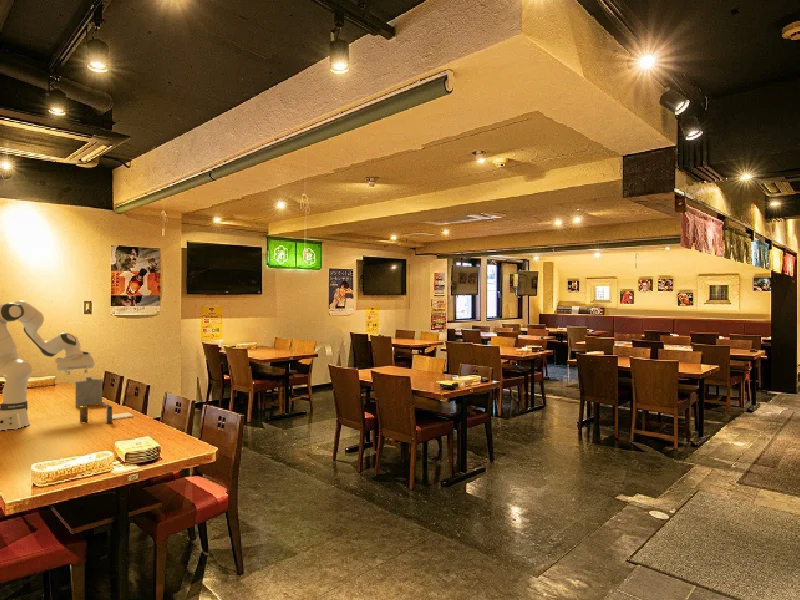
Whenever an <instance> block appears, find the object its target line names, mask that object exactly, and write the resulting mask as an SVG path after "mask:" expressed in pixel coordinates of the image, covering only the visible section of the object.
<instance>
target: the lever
mask: <svg viewBox="0 0 800 600" xmlns="http://www.w3.org/2000/svg"><path fill="white" fill-rule="evenodd" d="M101 405H102V406H104V407H105V408H106V424H107V425H109V424H108V423H111V424H113V420H112V415H113V406H112V405H109V404H107V403H105V401H102V402H101ZM101 405H100V406H101Z"/></svg>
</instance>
